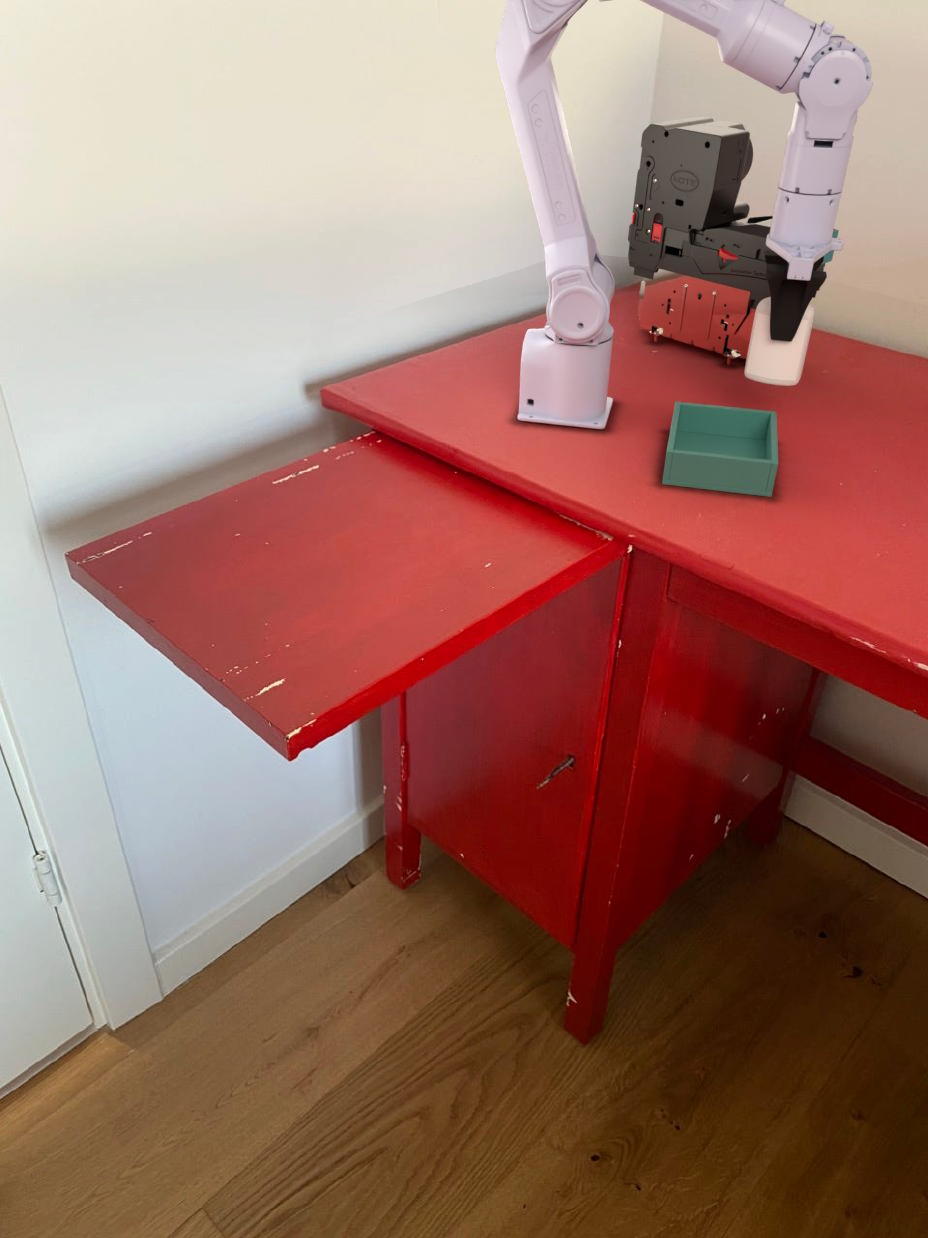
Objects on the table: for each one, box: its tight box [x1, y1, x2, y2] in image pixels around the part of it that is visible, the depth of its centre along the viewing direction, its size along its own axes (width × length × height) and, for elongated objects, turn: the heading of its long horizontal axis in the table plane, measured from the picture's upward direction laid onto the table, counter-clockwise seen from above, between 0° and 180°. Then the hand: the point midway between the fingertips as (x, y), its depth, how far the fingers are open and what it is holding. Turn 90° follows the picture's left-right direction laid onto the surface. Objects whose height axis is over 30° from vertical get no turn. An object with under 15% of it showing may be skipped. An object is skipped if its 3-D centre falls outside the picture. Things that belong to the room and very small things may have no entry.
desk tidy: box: [661, 401, 779, 498], centre depth 96 cm, size 10×12×4 cm
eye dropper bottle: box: [743, 297, 815, 387], centre depth 98 cm, size 4×6×12 cm
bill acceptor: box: [627, 115, 840, 365], centre depth 118 cm, size 10×23×25 cm, turn 44°
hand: (780, 332), depth 98 cm, fingers closed on eye dropper bottle, 3 cm apart
